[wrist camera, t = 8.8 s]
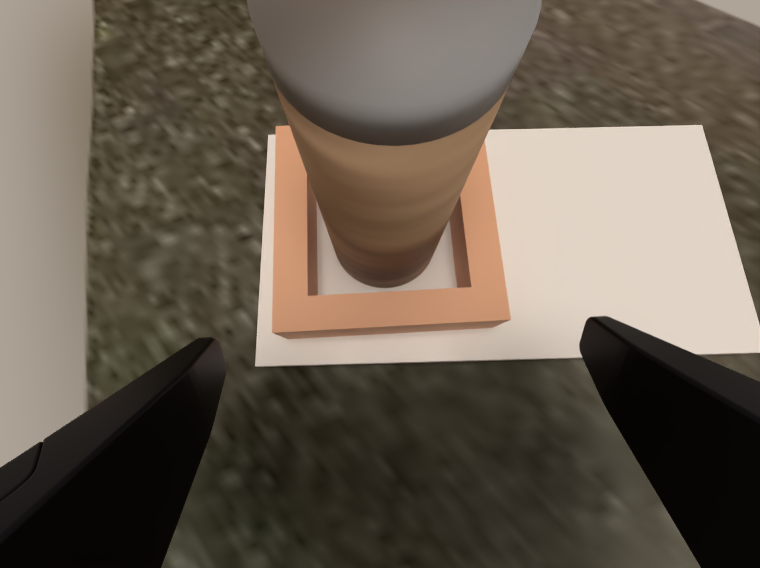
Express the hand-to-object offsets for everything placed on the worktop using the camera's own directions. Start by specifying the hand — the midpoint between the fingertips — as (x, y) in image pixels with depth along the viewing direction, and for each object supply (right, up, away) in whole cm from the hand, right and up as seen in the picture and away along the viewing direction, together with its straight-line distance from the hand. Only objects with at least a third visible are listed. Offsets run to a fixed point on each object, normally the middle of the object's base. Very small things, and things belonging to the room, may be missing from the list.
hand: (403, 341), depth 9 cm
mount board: (+5, +4, +10) cm, 12 cm away
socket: (0, +4, +9) cm, 10 cm away
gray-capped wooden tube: (0, +4, +9) cm, 10 cm away
